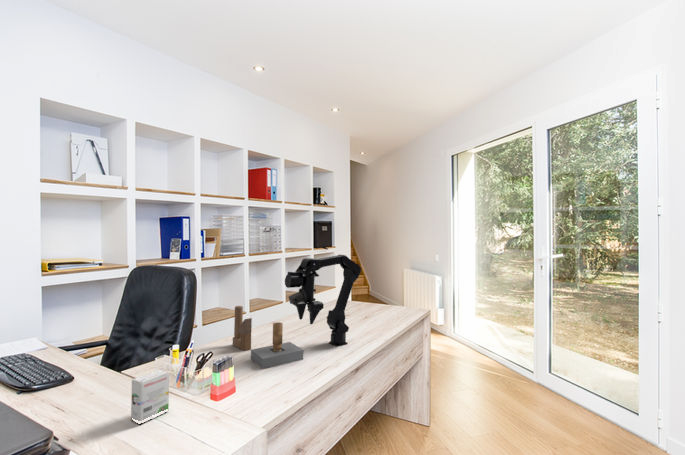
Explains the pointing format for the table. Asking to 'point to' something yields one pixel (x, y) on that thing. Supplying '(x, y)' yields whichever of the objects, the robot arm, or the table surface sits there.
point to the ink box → (149, 395)
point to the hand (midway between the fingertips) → (305, 321)
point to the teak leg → (277, 337)
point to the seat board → (276, 355)
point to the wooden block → (242, 330)
